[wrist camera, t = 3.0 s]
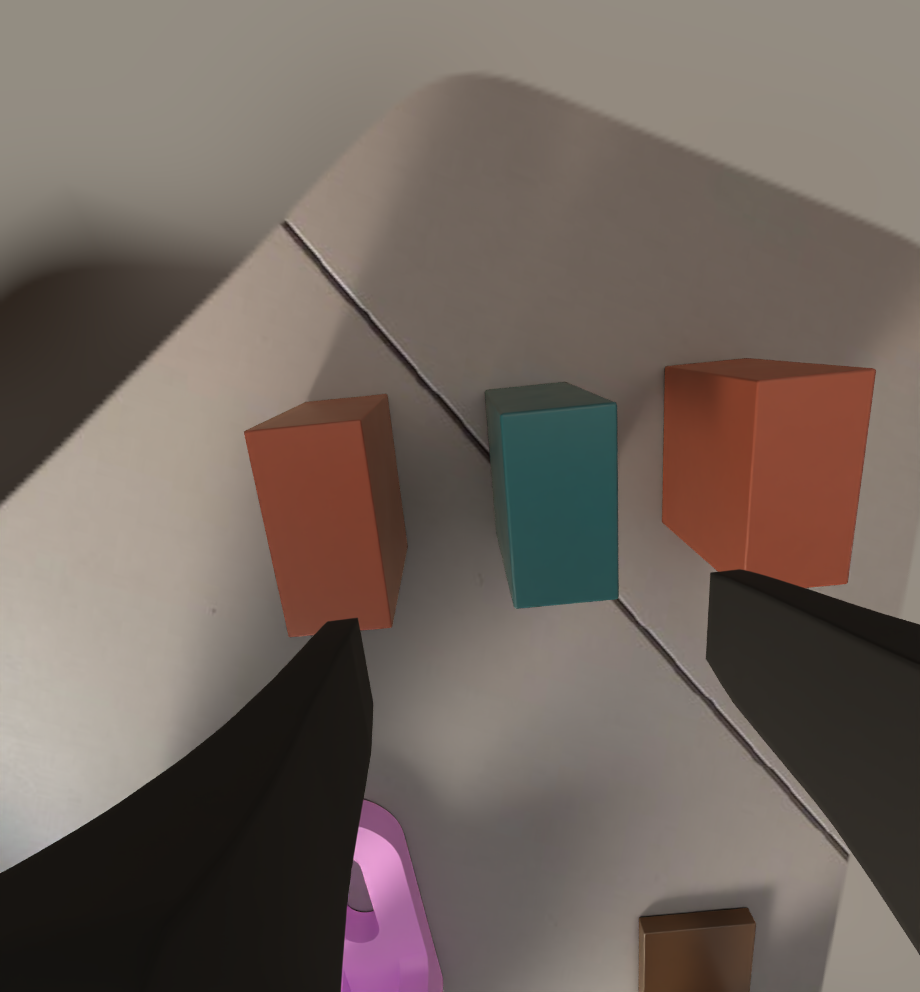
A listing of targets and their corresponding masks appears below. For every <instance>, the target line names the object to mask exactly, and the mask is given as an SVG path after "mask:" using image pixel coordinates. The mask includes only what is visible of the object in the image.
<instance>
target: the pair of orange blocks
mask: <svg viewBox="0 0 920 992" xmlns="http://www.w3.org/2000/svg"><path fill="white" fill-rule="evenodd" d="M875 374H876V370H875V369H873V368H862V367H849V366H837V365H825V364H812V363H800V362H788V361H775V360H763V359H751V358H744V359H734V360H723V361H713V362H703V363H693V364H683V365H673V366H666V367H665V394H664V448H663V502H662V522H663V523H664V524H665V525H666V526H667V527H668V528H669V529H670V530H672V531H673V532H674V533H675V534H676V535H677V536H678V537H679V538H681V539H682V540H683V541H684V542H685V543H686V544H687V545H689V546H690V547H691V548H692V549H693V550H694V551H695V552H696V553H698V554H699V555H700V556H701V557H702V558H703V559H704V560H706V561H707V562H708V563H709V564H710V565H711V566H712V567H713V568H715V569H716V570H717V571H718V572H721V571H729V570H737V569H741V570H746V571H751V572H755V573H758V574H762V575H765V576H769V577H772V578H775V579H778V580H782V581H785V582H788V583H791V584H794V585H797V586H800V587H803V588H809V587H819V586H830V585H840V584H847V582H848V576H849V569H850V561H851V554H852V546H853V539H854V531H855V524H856V516H857V509H858V501H859V494H860V486H861V479H862V471H863V464H864V457H865V449H866V442H867V434H868V427H869V419H870V412H871V404H872V397H873V389H874V382H875ZM244 435H245V439H246V444H247V448H248V453H249V458H250V462H251V467H252V471H253V476H254V480H255V485H256V490H257V494H258V499H259V503H260V508H261V512H262V517H263V522H264V526H265V531H266V535H267V540H268V544H269V549H270V554H271V558H272V563H273V567H274V572H275V577H276V581H277V586H278V590H279V595H280V599H281V604H282V609H283V613H284V618H285V622H286V627H287V631H288V636H289V637H299V636H309V635H315V634H316V632H317V631H318V630H319V629H320V628H321V627H322V626H323V625H324V624H325V623H326V622H327V621H334V620H342V619H350V618H358V620H359V626H360V631H361V630H372V629H382V628H391V627H392V625H393V620H394V615H395V610H396V605H397V599H398V594H399V589H400V584H401V579H402V573H403V568H404V563H405V558H406V553H407V548H408V545H407V537H406V530H405V522H404V515H403V508H402V500H401V493H400V485H399V478H398V471H397V463H396V456H395V448H394V441H393V433H392V426H391V419H390V411H389V404H388V396H387V394H381V395H371V396H361V397H351V398H340V399H330V400H320V401H310V402H305V403H303V404H301V405H298V406H296V407H294V408H292V409H290V410H288V411H286V412H284V413H282V414H280V415H277V416H275V417H273V418H271V419H269V420H267V421H265V422H263V423H261V424H258V425H256V426H254V427H252V428H250V429H248V430H246V431H244Z"/></svg>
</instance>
